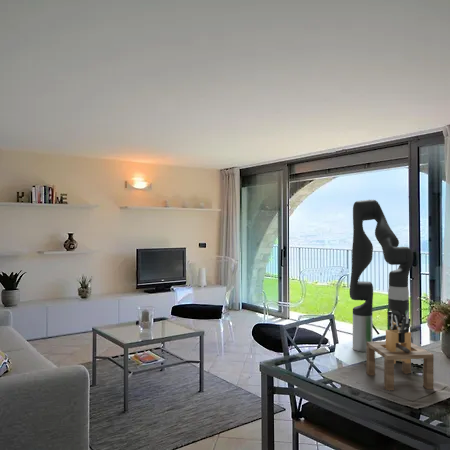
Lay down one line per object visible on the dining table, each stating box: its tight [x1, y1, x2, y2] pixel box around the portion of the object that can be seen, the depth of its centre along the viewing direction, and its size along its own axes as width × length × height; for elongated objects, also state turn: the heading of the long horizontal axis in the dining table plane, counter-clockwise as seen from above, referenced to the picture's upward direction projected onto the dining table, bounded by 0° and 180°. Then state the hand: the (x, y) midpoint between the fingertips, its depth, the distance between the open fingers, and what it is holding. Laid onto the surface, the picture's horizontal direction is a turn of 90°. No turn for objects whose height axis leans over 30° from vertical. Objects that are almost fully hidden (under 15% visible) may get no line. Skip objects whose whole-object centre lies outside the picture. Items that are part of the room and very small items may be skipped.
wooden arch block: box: [385, 329, 412, 365], centre depth 165 cm, size 4×8×12 cm, turn 96°
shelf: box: [365, 340, 434, 392], centre depth 165 cm, size 18×18×15 cm
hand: (398, 340), depth 165 cm, fingers closed on wooden arch block, 4 cm apart
